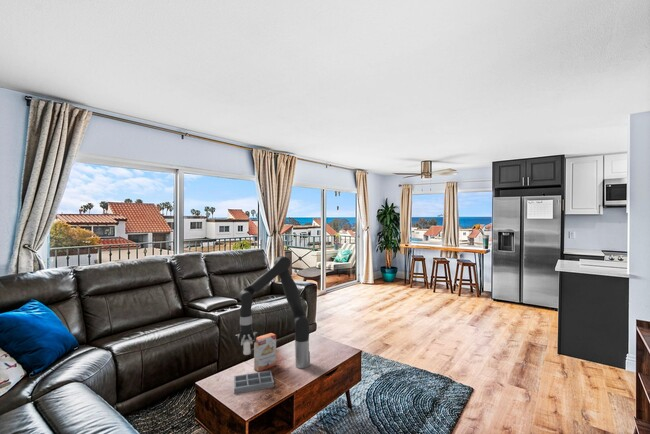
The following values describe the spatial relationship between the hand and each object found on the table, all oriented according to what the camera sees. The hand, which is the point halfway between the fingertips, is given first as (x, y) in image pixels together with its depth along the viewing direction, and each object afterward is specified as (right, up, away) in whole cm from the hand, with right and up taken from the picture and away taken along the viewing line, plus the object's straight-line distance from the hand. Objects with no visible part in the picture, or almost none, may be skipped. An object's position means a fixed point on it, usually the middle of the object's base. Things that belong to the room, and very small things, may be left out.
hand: (246, 349), depth 199 cm
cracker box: (+9, -17, +12) cm, 23 cm away
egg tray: (+6, -17, -8) cm, 20 cm away
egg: (0, -2, 0) cm, 2 cm away
